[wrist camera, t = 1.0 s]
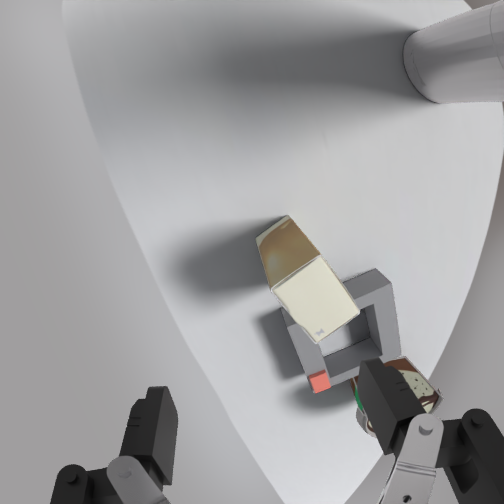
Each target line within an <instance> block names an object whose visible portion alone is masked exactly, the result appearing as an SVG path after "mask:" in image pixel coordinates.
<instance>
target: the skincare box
mask: <svg viewBox="0 0 504 504" xmlns="http://www.w3.org/2000/svg"><path fill="white" fill-rule="evenodd" d="M256 243H257V246H258V250H259V253H260V257H261V260H262V264H263V267H264V271H265V274H266V277H267V281H268V284H269V288H270V291H271V293H272V294H273V295H274V296H275V297H276V299H277V300H278V301H279V302H280V303H281V305H282V306H283V307H284V308H285V310H286V311H287V312H288V313H289V314H290V316H291V317H292V318H293V319H294V320H295V321H296V323H297V324H298V325H299V326H300V327H301V328H302V329H303V331H304V332H305V333H306V334H307V335H308V336H309V338H310V339H311V340H312V341H313V342H314V343H315V344H318V343H319V342H321V341H322V340H323V339H325V338H327V337H328V336H330V335H331V334H333V333H334V332H335V331H337V330H338V329H340V328H341V327H343V326H344V325H345V324H347V323H348V322H350V321H351V320H352V319H353V318H355V317H356V316H357V315H359V314H360V310H359V308H358V307H357V305H356V303H355V301H354V300H353V298H352V296H351V295H350V293H349V292H348V290H347V289H346V287H345V286H344V284H343V283H342V282H341V280H340V279H339V277H338V276H337V275H336V273H335V272H334V270H333V269H332V268H331V266H330V265H329V264H328V262H327V261H326V260H325V259H324V257H323V256H322V255H321V254H320V252H319V251H318V250H317V249H316V247H315V246H314V245H313V244H312V243H311V241H310V240H309V239H308V238H307V237H306V235H305V234H304V233H303V232H302V231H301V229H300V228H299V227H298V226H297V225H296V223H295V222H294V221H293V220H292V219H291V218H290V216H289V215H287V216H285V217H284V218H283V219H281V220H280V221H278V222H277V223H275V224H274V225H273V226H271V227H270V228H268V229H267V230H266V231H264V232H263V233H262V234H260V235H259V236H258V237H257V238H256Z"/></svg>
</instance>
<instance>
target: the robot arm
mask: <svg viewBox="0 0 504 504" xmlns="http://www.w3.org/2000/svg"><path fill="white" fill-rule="evenodd" d="M403 59H404V65H405V69H406V72H407V74H408V76H409V78H410V80H411V82H412V83H413V85H414V86H415V88H416V89H417V90H418V91H419V92H420V93H421V94H422V95H423V96H424V97H426V98H427V99H429V100H431V101H433V102H436V103H462V102H463V103H466V102H504V0H502V1H499V2H496V3H493V4H489V5H486V6H483V7H480V8H477V9H474V10H471V11H468V12H465V13H463V14H460V15H457V16H455V17H452V18H449V19H447V20H444V21H441V22H439V23H436V24H434V25H431V26H429V27H426V28H424V29H422V30H419V31H417V32H415V33H413V34H412V35H410V36H409V37H408V39H407V40H406V42H405V46H404V51H403ZM357 392H358V397H359V400H360V402H361V404H362V406H363V408H364V410H365V413H366V415H367V417H368V419H369V421H370V423H371V426H372V428H373V430H374V432H375V435H376V437H377V439H378V441H379V443H380V446H381V448H382V450H383V452H384V455H387V454H391V453H394V455H395V457H396V459H395V461H394V463H393V466H392V469H391V471H390V474H389V476H388V479H387V481H386V484H385V486H384V489H383V491H382V493H381V496H380V498H379V500H378V502H377V504H428V501H429V498H430V494H431V491H432V487H433V484H434V481H435V477H436V471H434V469H435V468H441V467H443V468H444V471H445V473H446V475H447V477H448V480H449V482H450V484H451V486H452V489H453V491H454V493H455V496H456V498H457V500H458V502H459V504H504V437H503V435H502V434H501V432H500V430H499V429H498V427H497V426H496V424H495V423H494V421H493V419H492V418H491V417H490V415H489V414H488V413H487V412H486V411H484V410H482V409H471V410H469V411H467V412H466V413H465V414H464V415H463V417H462V419H455V420H445V421H443V420H440V418H438V417H437V416H435V415H433V414H428V413H427V412H426V411H425V409H424V408H423V406H422V404H421V403H420V401H419V400H418V398H417V397H416V395H415V393H414V392H413V390H412V389H411V388H410V386H409V384H408V383H407V382H406V379H405V378H404V376H403V375H402V373H401V372H400V371H399V370H397V369H396V368H394V367H393V366H387V367H385V365H384V364H383V362H382V360H381V359H380V358H379V357H375V358H370V359H366V360H362V361H361V362H360V369H359V376H358V383H357ZM177 428H178V414H177V410H176V407H175V405H174V402H173V400H172V397H171V394H170V392H169V389H168V387H167V386H159V387H158V386H157V387H149V388H148V391H147V394H146V398H145V399H138V400H137V401H136V403H135V404H134V405H133V407H132V408H131V412H130V416H129V419H128V423H127V427H126V431H125V435H124V439H123V443H122V446H121V451H120V454H119V457H117V458H115V459H114V460H112V461H111V462H110V463H109V465H108V467H106V468H103V469H97V470H91V471H86V470H85V469H84V468H83V467H81V466H79V465H75V464H73V465H67V466H65V467H64V468H62V469H61V470H60V471H59V473H58V475H57V479H56V482H55V486H54V490H53V494H52V498H51V502H50V504H171V503H170V502H169V501H168V500H167V498H166V497H165V496H164V495H163V493H162V491H163V485H172V475H173V465H174V455H175V445H176V436H177Z"/></svg>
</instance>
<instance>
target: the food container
mask: <svg viewBox="0 0 504 504" xmlns="http://www.w3.org/2000/svg"><path fill="white" fill-rule="evenodd" d="M384 365H385V367H387V366H393V367H394V368H396V369H397V370H399V371H400V372H401V373H402V375H403V376H404V378H405V379H406V382H407V383H408V384H409V386H410V388H411V389H412V390H413V392H414V393H415V395H416V397H417V398H418V400H419V401H420V403H421V404H422V406H423V408H424V409H425V411H426V412H427V413H428V414H433V413H434V412H435V411H436V410H437V408H438V407H439V405H440V404H441V403H442V401H443V397H442V396H443V394H442V392H441V390H440V388H439V389H438V391H437V390H436V389H435V388H434V387H433V386H432V385H431V383H430V382H429V381H428V380H427V379H426V378H425V377H424V376H423V375H422V374H421V372H420V371H419V370H418V369H417V368H416V367H415V366H414V365H413V364H412V363H411V362H410V361H409V359H408V358H407V357H406V356H403V357H398V358H394V359H392V360H390V361H388V362H386V363H384ZM358 376H359V375H357V376H355V377H353V378H350V379H349V380H350V383H351V386H352V389H353V392H354V395H355V398H356V401H357V404H358V408H357V412H356V418H357V422H358V423H359V425H360V426H361V427H362V428H363V429H364V431H365V432H366V433H368V434H369V435H371V436H372V437H374V438H377V437H376V435H375V432H374V430H373V428H372V426H371V423H370V421H369V419H368V417H367V415H366V413H365V410H364V408H363V406H362V404H361V402H360V400H359V397H358V392H357V383H358Z"/></svg>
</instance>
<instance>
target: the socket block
mask: <svg viewBox="0 0 504 504" xmlns="http://www.w3.org/2000/svg"><path fill="white" fill-rule="evenodd" d="M343 284H344V286H345V287H346V289H347V290H348V292H349V293H350V295H351V296H352V298H353V300H354V301H355V303H356V305H357V307H358V308H359V310H360V309H363V308H365V313H366V317H367V322H368V327H369V332H370V338H368V339H365V340H363V341H361V342H359V343H356V344H354V345H352V346H350V347H347V348H345V349H343V350H340V351H338V352H336V353H333V354H331V355H328V356H326V357H323V356H322V353H321V350H320V347H319V344H315V343H314V342H313V341H312V340H311V339H310V338H309V336H308V335H307V334H306V333H305V332H304V331H303V329H302V328H301V327H300V326H299V325H298V324H297V323H296V321H295V320H294V319H293V318H292V317H291V316H290V314H289V313H288V312H287V311H286V310H285V308H284V307H282V308H280V309H281V312H282V315H283V318H284V320H285V323H286V326H287V329H288V331H289V334H290V336H291V339H292V341H293V344H294V346H295V349H296V351H297V354H298V356H299V359H300V361H301V364H302V366H303V369H304V371H305V374H306V376H307V379H308V381H309V384H310V386H311V389H312V391H313V393H315V394H316V393H318V392H321V391H324V390H326V389H329V388H331V386H334V385H336V384H339V383H341V382H343V381H346V380H348V379H350V378H353V377H355V376H357V375H359V369H360V362H361V361H362V360H366V359H370V358H375V357H379V358H380V359H381V360H382V362H383V364H384V363H386V362H388V361H390V360H392V359H394V358H396V357H398V356H400V355H401V346H400V337H399V329H398V321H397V314H396V307H395V301H394V294H393V288H392V283H391V282H390V281H389V280H388V279H387V278H386V277H385V276H384V275H383V274H382V273H380V272H379V271H378V270H377V269H373V270H371V271H369V272H367V273H364V274H362V275H360V276H357V277H355V278H353V279H350V280H348V281H346V282H343Z"/></svg>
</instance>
